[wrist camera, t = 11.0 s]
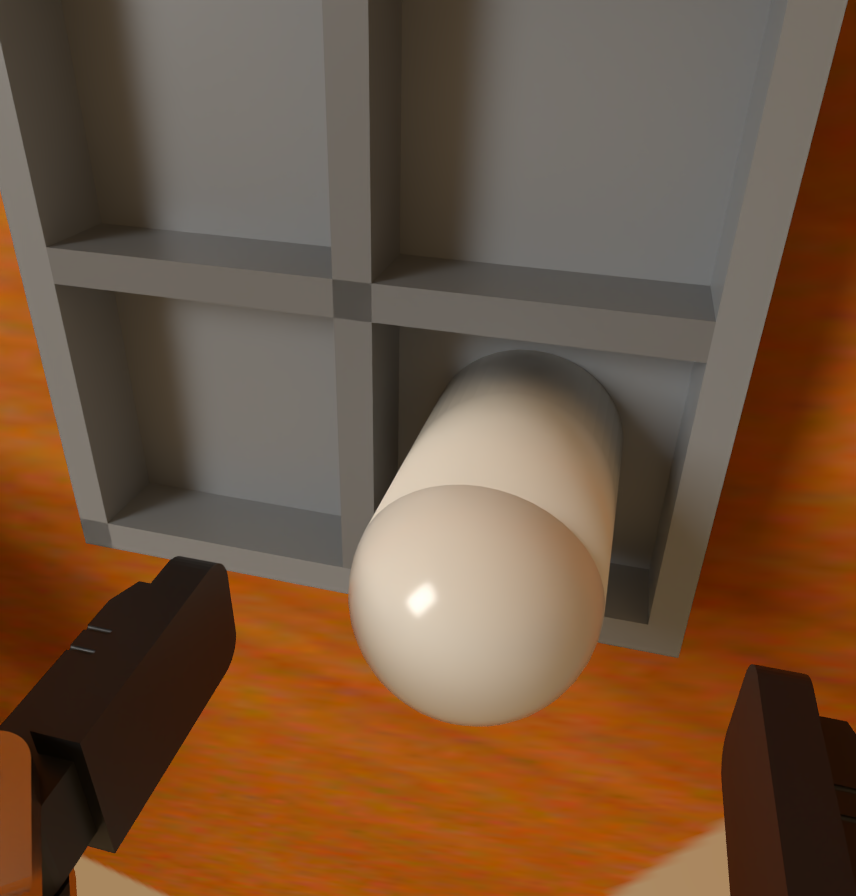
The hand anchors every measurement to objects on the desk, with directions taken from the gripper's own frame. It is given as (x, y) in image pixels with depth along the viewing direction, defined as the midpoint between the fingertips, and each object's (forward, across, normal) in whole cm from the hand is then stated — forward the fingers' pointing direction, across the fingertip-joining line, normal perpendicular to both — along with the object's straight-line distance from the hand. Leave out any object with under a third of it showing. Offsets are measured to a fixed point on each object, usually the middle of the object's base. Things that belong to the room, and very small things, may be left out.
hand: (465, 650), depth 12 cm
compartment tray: (+8, +4, -3) cm, 9 cm away
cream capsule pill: (+7, 0, 0) cm, 7 cm away
